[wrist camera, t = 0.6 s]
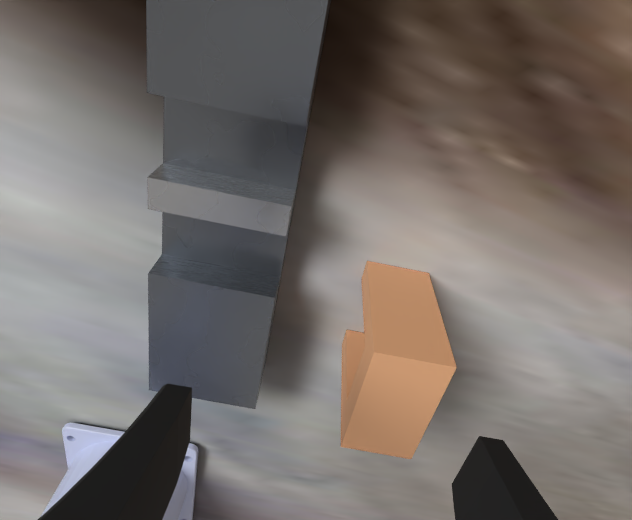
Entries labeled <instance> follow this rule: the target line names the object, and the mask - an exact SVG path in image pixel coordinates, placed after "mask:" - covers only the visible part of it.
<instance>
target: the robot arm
mask: <svg viewBox="0 0 632 520" xmlns="http://www.w3.org/2000/svg"><path fill="white" fill-rule="evenodd" d="M191 403H192V388H191V387H185V386H179V385H174V384H168V383H167V384H165V385H164V386H162V388H161V389H160V390H159V392H158V393H157V394H156V395H155V397H154V398H153V399H152V401H151V402H150V403H149V404H148V406H147V407H146V408H145V409H144V410H143V412H142V413H141V414H140V415H139V416H138V418H137V419H136V420H135V421H134V422H133V423H132V425H131V426H130V427H129V428H128V429H127V430H126V431H125V432H123V431H118V430H112V429H106V428H100V427H95V426H89V425H83V424H77V423H67V424H66V425H65V426H64V427H63V429H62V434H63V440H64V446H65V452H66V458H67V464H68V471H67V473H66V474H65V476H64V478H63V479H62V481H61V483H60V484H59V486H58V488H57V490H56V491H55V493H54V495H53V496H52V498H51V500H50V501H49V503H48V505H47V507H46V508H45V510H44V512H43V513H42V515H41V517H40V518H39V519H38V520H193V509H194V497H195V485H196V473H197V462H198V447H197V446H196V445H194V444H191V443H189V442H190V426H191ZM452 491H453V502H454V512H455V520H558V519H557V517H556V516H555V515H554V513H553V512H552V510H551V509H550V507H549V506H548V505H547V503H546V502H545V500H544V499H543V497H542V496H541V495H540V493H539V492H538V490H537V489H536V487H535V486H534V484H533V483H532V482H531V480H530V479H529V477H528V476H527V474H526V473H525V471H524V470H523V468H522V467H521V465H520V464H519V463H518V461H517V460H516V458H515V457H514V455H513V454H512V452H511V451H510V449H509V448H508V447H507V445H506V444H505V442H504V441H503V440H499V439H493V438H487V437H481V436H479V438H478V439H477V441H476V443H475V445H474V446H473V448H472V450H471V452H470V453H469V455H468V457H467V459H466V460H465V462H464V464H463V466H462V467H461V469H460V471H459V472H458V474H457V476H456V478H455V479H454V481H453V483H452Z"/></svg>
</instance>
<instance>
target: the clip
mask: <svg viewBox="0 0 632 520" xmlns="http://www.w3.org/2000/svg"><path fill="white" fill-rule="evenodd" d="M362 297H363V316H364V333H362V332H356V331H351V330H346V333H345V337H344V340H343V343H342V389H341V447H345V448H351V449H356V450H362V451H368V452H373V453H379V454H385V455H390V456H396V457H402V458H407V459H412V457H413V455H414V453H415V451H416V449H417V447H418V444H419V442H420V440H421V438H422V436H423V434H424V432H425V430H426V428H427V426H428V424H429V422H430V420H431V418H432V416H433V414H434V412H435V410H436V408H437V406H438V404H439V402H440V400H441V398H442V396H443V394H444V392H445V390H446V388H447V386H448V384H449V382H450V380H451V378H452V376H453V374H454V372H455V370H456V368H457V367H456V363H455V360H454V357H453V353H452V350H451V347H450V343H449V340H448V337H447V333H446V330H445V326H444V323H443V320H442V316H441V313H440V310H439V306H438V303H437V299H436V296H435V293H434V289H433V286H432V283H431V279H430V276H429V273H425V272H420V271H415V270H410V269H405V268H400V267H395V266H390V265H385V264H380V263H375V262H370V261H367V263H366V266H365V270H364V273H363V276H362Z"/></svg>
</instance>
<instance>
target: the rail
mask: <svg viewBox="0 0 632 520" xmlns="http://www.w3.org/2000/svg"><path fill="white" fill-rule="evenodd" d="M330 4H331V0H146V25H147V93H150V94H155V95H159V96H164V144H163V164H162V165H161V166H160V167H159V168H157V169H156V170H155V171H154V172H153V173H152V174H151V175H150V176H149V177H148V209H151V210H156V211H161V212H163V226H162V255H161V257H160V258H159V259H158V261H157V262H156V263H155V265H154V266H153V268H152V269H151V270H150V272H149V273H148V303H149V390H152V391H158V392H159V390H160V389H161V388H162V386H164V385H165V384H167V383H168V384H174V385H179V386H185V387H191V388H192V398H197V399H202V400H208V401H213V402H219V403H224V404H230V405H235V406H241V407H247V408H252V409H255V407H256V403H257V398H258V394H259V389H260V385H261V380H262V376H263V371H264V367H265V361H266V356H267V350H268V345H269V339H270V334H271V328H272V323H273V317H274V312H275V306H276V301H277V295H278V290H279V284H280V279H281V273H282V268H283V262H284V257H285V251H286V246H287V240H288V235H289V229H290V224H291V218H292V213H293V207H294V202H295V196H296V191H297V185H298V180H299V174H300V169H301V163H302V158H303V152H304V147H305V141H306V136H307V130H308V125H309V119H310V114H311V108H312V103H313V97H314V92H315V86H316V81H317V75H318V70H319V64H320V59H321V53H322V48H323V42H324V37H325V31H326V26H327V20H328V15H329V9H330Z"/></svg>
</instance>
